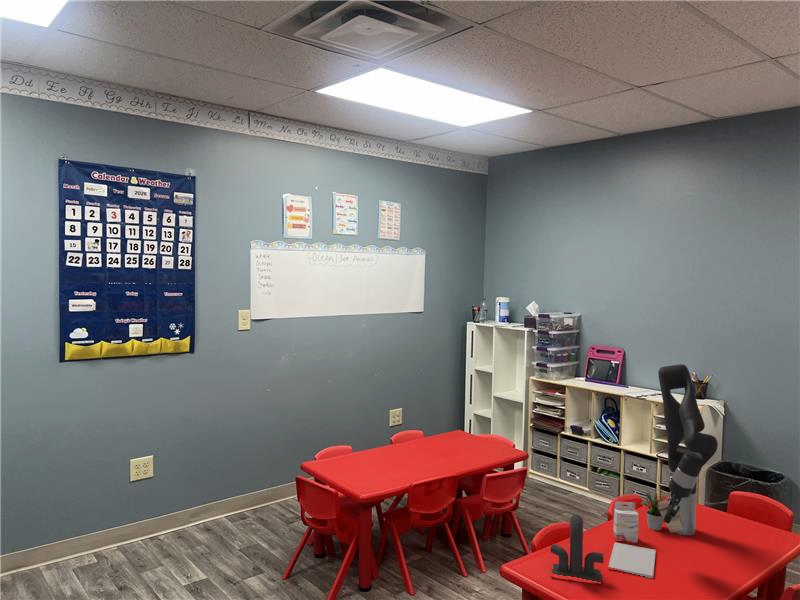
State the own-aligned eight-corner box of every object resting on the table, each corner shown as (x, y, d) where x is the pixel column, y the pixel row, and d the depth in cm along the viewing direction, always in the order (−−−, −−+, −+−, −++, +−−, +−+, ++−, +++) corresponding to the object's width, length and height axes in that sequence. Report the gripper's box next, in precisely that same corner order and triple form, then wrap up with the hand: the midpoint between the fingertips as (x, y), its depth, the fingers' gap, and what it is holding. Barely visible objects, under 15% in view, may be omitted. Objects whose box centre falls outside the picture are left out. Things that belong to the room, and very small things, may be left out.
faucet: (601, 564, 222) (602, 511, 221) (603, 585, 207) (604, 528, 206) (550, 557, 227) (551, 505, 226) (549, 577, 212) (550, 522, 211)
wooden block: (671, 525, 225) (658, 502, 224) (683, 522, 222) (670, 499, 222) (671, 532, 221) (658, 509, 220) (683, 529, 218) (670, 506, 218)
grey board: (614, 544, 238) (614, 542, 238) (655, 552, 231) (655, 549, 231) (608, 569, 218) (608, 566, 218) (652, 578, 212) (653, 575, 212)
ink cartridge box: (616, 541, 241) (616, 505, 240) (613, 536, 246) (613, 501, 245) (638, 542, 240) (639, 506, 239) (634, 537, 245) (635, 501, 244)
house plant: (633, 531, 251) (633, 492, 250) (634, 518, 263) (634, 482, 263) (670, 537, 245) (671, 497, 244) (669, 524, 258) (670, 486, 257)
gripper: (672, 467, 224) (656, 503, 230) (672, 486, 211) (655, 524, 217) (693, 475, 222) (676, 512, 227) (695, 495, 209) (676, 534, 215)
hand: (666, 518), depth 222 cm, fingers closed on wooden block, 4 cm apart
